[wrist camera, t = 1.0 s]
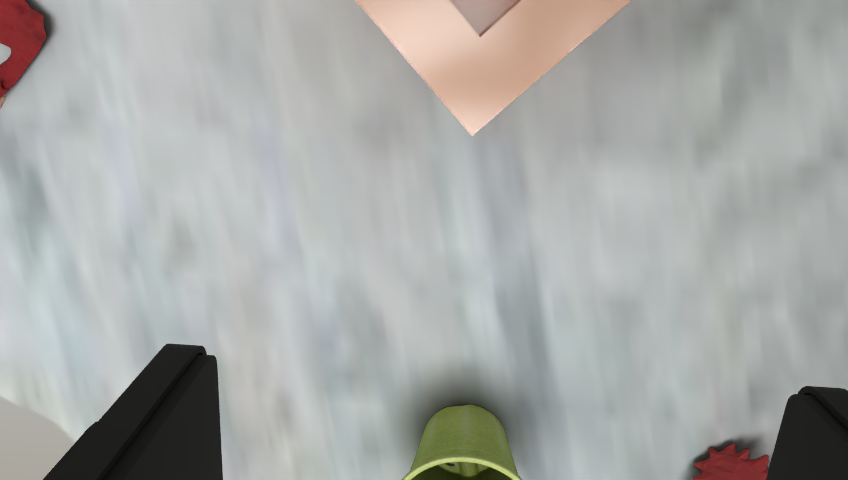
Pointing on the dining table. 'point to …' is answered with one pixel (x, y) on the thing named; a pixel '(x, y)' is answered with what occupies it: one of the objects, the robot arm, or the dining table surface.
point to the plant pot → (463, 447)
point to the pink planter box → (486, 45)
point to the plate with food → (18, 40)
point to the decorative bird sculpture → (732, 465)
